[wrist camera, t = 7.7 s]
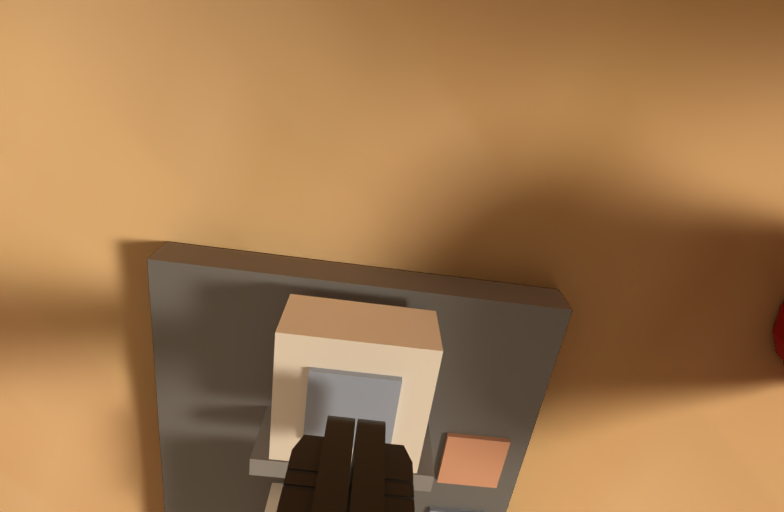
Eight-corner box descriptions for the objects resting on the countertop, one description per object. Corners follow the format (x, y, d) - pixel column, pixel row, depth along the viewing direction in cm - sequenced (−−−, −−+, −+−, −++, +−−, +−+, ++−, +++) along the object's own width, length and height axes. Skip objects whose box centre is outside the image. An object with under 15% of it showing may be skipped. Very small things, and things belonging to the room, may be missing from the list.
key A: (298, 271, 16) (273, 336, 13) (432, 287, 17) (443, 355, 13) (291, 380, 18) (267, 464, 15) (411, 393, 19) (417, 478, 15)
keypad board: (166, 241, 17) (104, 296, 13) (558, 289, 18) (602, 353, 14) (183, 577, 24) (146, 673, 20) (462, 599, 25) (475, 695, 21)
